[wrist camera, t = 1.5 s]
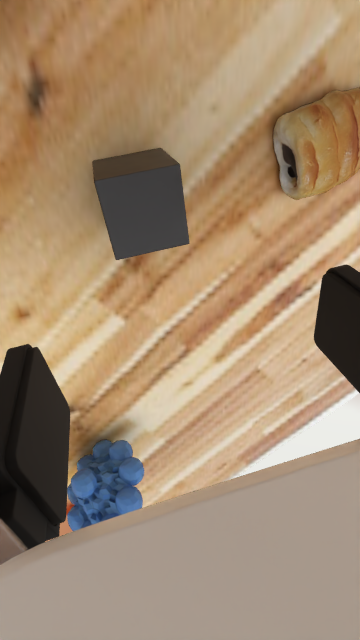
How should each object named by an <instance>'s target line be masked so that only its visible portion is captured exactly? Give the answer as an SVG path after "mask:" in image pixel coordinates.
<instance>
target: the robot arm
mask: <svg viewBox="0 0 360 640" xmlns="http://www.w3.org/2000/svg"><path fill="white" fill-rule="evenodd" d="M314 340H315V343H316V345H317V347H318V348H319V349H320V350H321V351H322V352H323V353H324V354H325V355H326V356H327V358H328V359H329V360H330V361H331V362H332V363H333V364H334V365H335V366H336V368H337V369H338V370H339V371H340V372H341V373H342V374H343V375H344V376H345V377H346V379H347V380H348V381H349V382H350V383H351V384H352V385H353V386H354V387H355V388H356V390H357V391H358V392H359V393H360V272H358V271H357V270H355V269H354V268H352V267H351V266H349V265H342V266H338V267H334V268H330V269H329V270H328V271H327V272H326V274H325V275H324V276H323V278H322V283H321V290H320V297H319V304H318V311H317V318H316V325H315V332H314ZM69 431H70V409H69V406H68V403H67V401H66V399H65V397H64V395H63V394H62V392H61V390H60V388H59V386H58V384H57V382H56V380H55V378H54V376H53V375H52V373H51V371H50V369H49V367H48V365H47V363H46V361H45V359H44V357H43V355H42V354H41V352H40V350H39V348H38V347H34V348H32V347H31V346H30V345H29V344H26V345H22V346H18V347H14V348H10V349H8V351H7V353H6V357H5V360H4V364H3V367H2V371H1V374H0V640H360V439H358V440H354V441H351V442H348V443H345V444H342V445H339V446H335V447H332V448H329V449H326V450H323V451H319V452H316V453H313V454H310V455H307V456H304V457H300V458H297V459H294V460H291V461H288V462H284V463H282V464H278V465H275V466H272V467H269V468H265V469H262V470H259V471H256V472H253V473H250V474H246V475H243V476H240V477H237V478H234V479H231V480H228V481H224V482H221V483H218V484H215V485H212V486H209V487H206V488H203V489H200V490H196V491H193V492H190V493H187V494H184V495H181V496H178V497H175V498H172V499H168V500H165V501H162V502H159V503H156V504H153V505H150V506H147V507H144V508H141V509H137V510H134V511H131V512H128V513H126V514H123V515H120V516H117V517H114V518H111V519H108V520H105V521H102V522H99V523H96V524H93V525H90V526H87V527H84V528H81V529H79V530H76V531H73V532H70V533H68V534H65V535H62V536H60V537H59V528H60V523H62V522H64V521H65V519H66V507H67V482H68V457H69ZM56 537H57V538H56ZM53 538H55V539H53ZM50 539H52V540H50ZM47 540H50V541H47ZM45 541H47V542H45Z"/></svg>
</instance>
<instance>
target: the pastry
mask: <svg viewBox="0 0 360 640" xmlns="http://www.w3.org/2000/svg"><path fill="white" fill-rule="evenodd" d="M273 140H274V151H275V153H276V156H277V160H278V163H279V165H280V183H281V187H282V189H283V190H284V192H285V193H286V194H287V195H288V196H289V197H291V198H293V199H296V200H299V199H301V198H306V197H310V196H313V195H317V194H322V193H326V192H327V191H328V190H330V189H331V188H333V187H334V186H336V185H339V184H341V183H343V182H345V181H347V180H348V179H349V178H350V177H351V176H353V175H355V174H356V172H357V171H358V170H359V169H360V88H355V89H351V90H348V91H339V90H335V91H332V92H330V93H328V94H326V95H325V96H324V97H323V98H322V99H321V100H318V101H315V102H314V103H311V104H307V105H304V106H302V107H300V108H298V109H296V110H294V111H292V112H290V113H285V114H283V115H282V116H281V117H280V118H279V119H278V120H277V123H276V125H275V127H274V134H273Z"/></svg>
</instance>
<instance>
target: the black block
mask: <svg viewBox="0 0 360 640" xmlns="http://www.w3.org/2000/svg"><path fill="white" fill-rule="evenodd" d="M93 174H94V183H95V187H96V190H97V194H98V198H99V201H100V205H101V208H102V212H103V216H104V219H105V223H106V226H107V230H108V234H109V237H110V241H111V244H112V248H113V252H114V255H115V259H116V260H119V259H124V258H128V257H133V256H137V255H142V254H146V253H151V252H155V251H159V250H164V249H168V248H173V247H177V246H182V245H186V244H189V235H188V227H187V219H186V211H185V203H184V195H183V187H182V179H181V170H180V164H179V163H178V162H176V161H175V160H174V159H173V158H172V157H171V156H170V155H168V154H167V153H166V152H165V151H164V150H163V149H161V148H158V149H152V150H147V151H142V152H137V153H132V154H126V155H121V156H116V157H111V158H106V159H100V160H95V161H93Z"/></svg>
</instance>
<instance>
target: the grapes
mask: <svg viewBox="0 0 360 640" xmlns="http://www.w3.org/2000/svg"><path fill="white" fill-rule="evenodd" d="M132 455H133V451H132V447H131V445H130V444H129V443H128V442H127V441H124V440H119V441H116V442H115V443H112V442H111V441H109V440H102V441H100V442H98V443H97V444H96V445H95V446H94V447H93V455H91V454H90V455H85V456H84V457H82V458H81V459H80V460H79V461H78V463H77V470H78V472H77V473H75V475H74V476H73V477H72V479H71V484H70V485H69V486H68V488H67V494H68V498H69V500H70V501H71V503H72V504H74V505H75V506H74V507H72V508H71V510H70V511H69V513H68V515H67V516H68V524H69V526H70V528H71V529H72V531H76V530H79V529H81V528H84V527H87V526H90V525H93V524H96V523H99V522H102V521H105V520H108V519H111V518H114V517H117V516H120V515H123V514H126V513H128V512H131V511H134V510H137V509H141V508H142V503H143V500H142V496H141V493H140V491H139V490H138V489H137V488H136V487H134V486H135V485H137V484H138V483H139V482H140V481H141V480H142V478H143V476H144V468H143V464H142V463H141V461H140V460H139V459H137V458H135V457H132Z"/></svg>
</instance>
